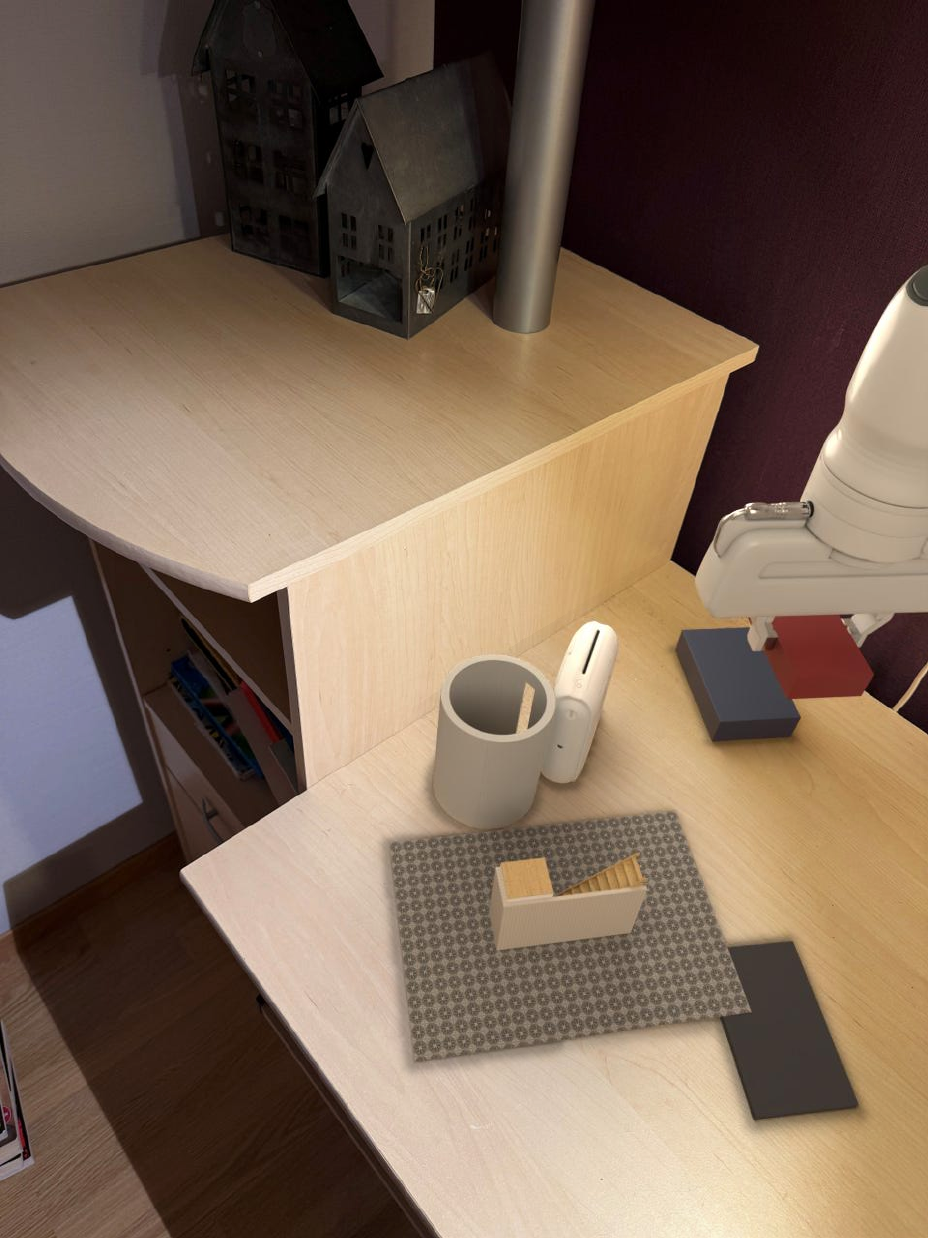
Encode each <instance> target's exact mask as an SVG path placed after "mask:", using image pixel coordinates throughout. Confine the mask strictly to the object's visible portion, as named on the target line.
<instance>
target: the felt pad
mask: <svg viewBox="0 0 928 1238" xmlns="http://www.w3.org/2000/svg"><path fill="white" fill-rule="evenodd" d="M727 948H728V951H729V953H730V956H731V959H732V961H733V964H734V966H735V969H736V972H737V974H738V977H739V980H740V982H741V985H742V988H743V990H744V993H745V996H746V998H747V1001H748V1004H749V1006H750V1009H751V1011H752V1012H750V1013H743V1014H736V1015H729V1016H723V1017H719V1019H720V1021H721V1024H722V1027H723V1030H724V1033H725V1036H726V1039H727V1042H728V1045H729V1048H730V1052H731V1055H732V1058H733V1061H734V1064H735V1067H736V1070H737V1073H738V1076H739V1079H740V1082H741V1085H742V1088H743V1092H744V1095H745V1098H746V1100H747V1101H746V1102H747V1104H748V1108H749V1109H750V1113H751V1116H752V1119H753V1121H762V1120H770V1119H779V1118H785V1117H786V1118H787V1117H793V1116H794V1117H795V1116H803V1115H809V1114H811V1115H812V1114H819V1113H825V1112H835V1111H843V1110H851V1109H856V1108H858V1107H859V1106H860V1104H859V1101H858V1099H857V1097H856V1094H855V1092H854V1089H853V1087H852V1084H851V1081H850V1079H849V1077H848V1074H847V1071H846V1069H845V1067H844V1064H843V1062H842V1059H841V1057H840V1054H839V1052H838V1050H837V1046H836V1044H835V1042H834V1039H833V1037H832V1035H831V1032H830V1029H829V1027H828V1024H827V1022H826V1020H825V1017H824V1015H823V1012H822V1010H821V1008H820V1005H819V1002H818V1000H817V998H816V994H815V992H814V989H813V987H812V984H811V982H810V979H809V977H808V975H807V972H806V970H805V968H804V965H803V961H802V960H801V957H800V956H799V952H798V950H797V948H796V946H795V943H794V941H793V940H787V941H778V942H766V943H758V944H757V943H756V944H746V945H736V946H727Z"/></svg>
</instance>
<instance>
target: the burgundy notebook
mask: <svg viewBox="0 0 928 1238" xmlns="http://www.w3.org/2000/svg"><path fill="white" fill-rule="evenodd" d="M747 619H748V621H749V624H750V626H751V625H752V621H751V618H750V617H747ZM841 619H842V617H841V616H840V615H810V616H777V617H775V618H774V620H773V622H772V625H773V630H775V631H776V633H777V635H778V639H777V641H776V643H775V644H774V645H773V646H774V647H773V649H772V650H769V651H764V652H765V654H766V657H767V659H768V661H769V663H770V665H771V667H772V669H773V671H774V673H775V675H776V677H777V679H778V681H779V683H780V686H781V688H782V690H783V692H784V694H785V696H786V698H787V699H792V700H806V699H827V698H828V699H829V698H830V699H831V698H852V697H853V698H855V697H862V696H863V694H864V692H865V691H866V689H867V688H868V686H869V684H870V682H871V681H872V679H873V677H874V676H875V674H874V672H873V670H872V669H871V667H870V665H869V664H868V661H867V660H866V658H865V657H864V655H863V653H862V651H861V650H860V647H859V648H858V646H857V645H856V643H855V641H854V639H853V638H852V636H851V635H850V633H849V632H848V630H847V627H846V626H845V625H844V623H843V621H842V620H841Z"/></svg>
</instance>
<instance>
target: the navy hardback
mask: <svg viewBox="0 0 928 1238" xmlns="http://www.w3.org/2000/svg"><path fill="white" fill-rule="evenodd" d="M750 627H751V626H745V627H719V628H695V629H681V632H680V634H679V637H678V640H677V643H676V646H675V649H674V651H675V653H676V656H677V659H678V661H679V664H680V666H681V668H682V671H683V673H684V676H685V678H686V682H687V683H688V687H689V688H690V691H691V693H692V695H693V698H694V700H695V703H696V705H697V708H698V711H699V713H700V715H701V718H702V721H703V723H704V726H705V728H706V731H707V733H708V735H709V737H710V740H711V742H713V743H714V742H729V741H731V742H732V741H744V740H762V739H763V740H764V739H780V738H792V735H793V734H794V732H795V731H796V728H797V727H798V724H799V722H800V720H801V719H802V717H801V716H802V715H800V712H799V710H798V708H797V706H796V704H795V702H794V699H787V698H786V696H785V694H784V692H783V690H782V688H781V686H780V683H779V681H778V679H777V677H776V675H775V673H774V671H773V669H772V667H771V665H770V663H769V661H768V659H767V657H766V654H765V652H764V651H753V650H752V648H751V646H750V644H749V642H748V638H747V636H748V632H749V630H750Z"/></svg>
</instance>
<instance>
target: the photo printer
mask: <svg viewBox="0 0 928 1238" xmlns="http://www.w3.org/2000/svg"><path fill="white" fill-rule="evenodd" d="M618 652H619V641H618V636H617V634H616V632H615V630H614V629H613V627H611V626H610V625H608V624H602V623H600V622H598V621H595V620H593V621H589V622H586V623H584V624H583V625H582V626H581V627H579V629H578V630H577V631H576V632H575V633H574V635H573V637H572V639H571V640H570V643H569V644H568V647H567V650H566V652H565V654H564V656H563V659H562V661H561V664H560V667H559V669H558V673H557V676H556V679H555V683H554V686H553V688H552V689H553V691H554V695H555V710H554V715H553V719H552V724H551V728H550V733H549V737H548V741H547V746H546V750H545V755H544V759H543V763H542V768H541V772H540V773H541V774H542V775H543V777H545V778H546V779H548V780H549V781H551V782H554V783H557V784H569V783H570V782H573V783H575V782H576V780H577V779H578V778H579V776H580V774H581V772H582V770H583V768H584V765H585V763H586V760H587V757H588V756H589V755H588V754H589V752H590V749H591V746H592V744H593V740H594V738H595V734H596V731H597V727H598V726H599V722H600V718H601V715H602V711H603V707H604V704H605V700H606V697H607V693H608V689H609V685H610V681H611V678H612V674H613V671H614V667H615V664H616V660H617V656H618Z"/></svg>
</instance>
